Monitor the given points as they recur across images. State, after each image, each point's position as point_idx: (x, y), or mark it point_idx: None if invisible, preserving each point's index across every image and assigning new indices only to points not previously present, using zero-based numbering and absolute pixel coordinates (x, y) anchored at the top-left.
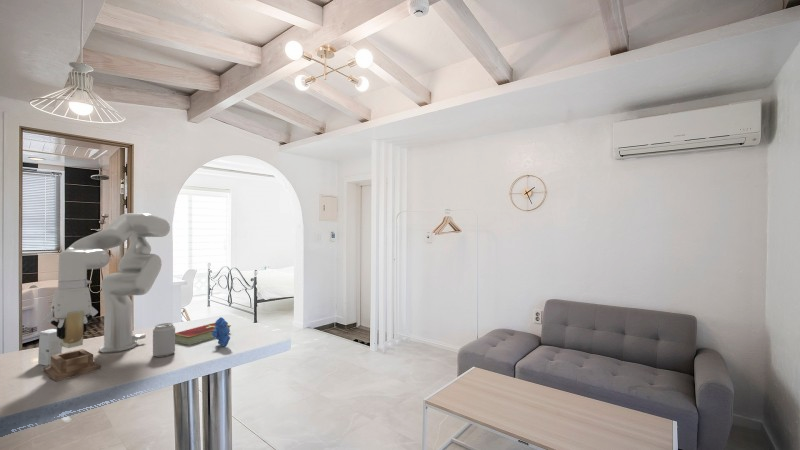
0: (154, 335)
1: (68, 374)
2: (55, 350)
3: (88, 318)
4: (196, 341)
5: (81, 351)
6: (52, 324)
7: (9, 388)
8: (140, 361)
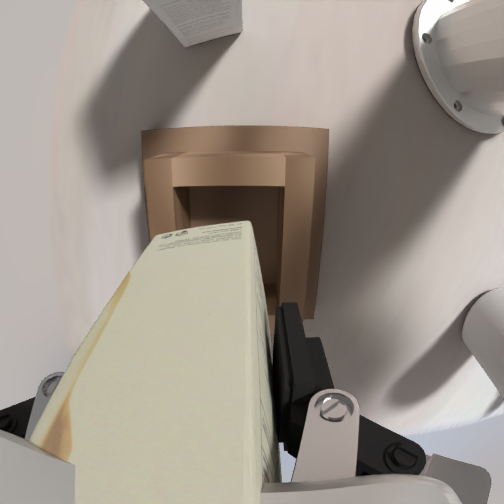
0: (501, 375)
1: None
2: (204, 18)
3: (360, 475)
4: None
5: (289, 219)
6: (20, 406)
7: (57, 248)
8: (420, 329)
